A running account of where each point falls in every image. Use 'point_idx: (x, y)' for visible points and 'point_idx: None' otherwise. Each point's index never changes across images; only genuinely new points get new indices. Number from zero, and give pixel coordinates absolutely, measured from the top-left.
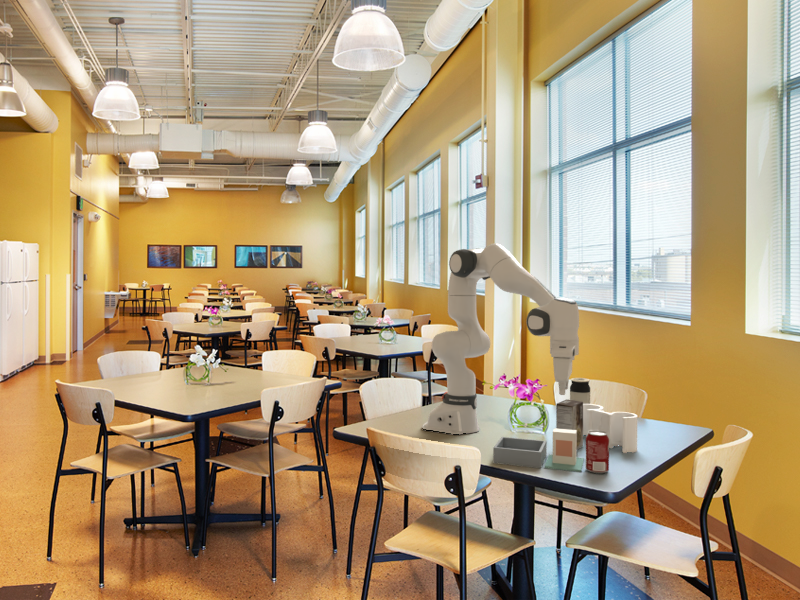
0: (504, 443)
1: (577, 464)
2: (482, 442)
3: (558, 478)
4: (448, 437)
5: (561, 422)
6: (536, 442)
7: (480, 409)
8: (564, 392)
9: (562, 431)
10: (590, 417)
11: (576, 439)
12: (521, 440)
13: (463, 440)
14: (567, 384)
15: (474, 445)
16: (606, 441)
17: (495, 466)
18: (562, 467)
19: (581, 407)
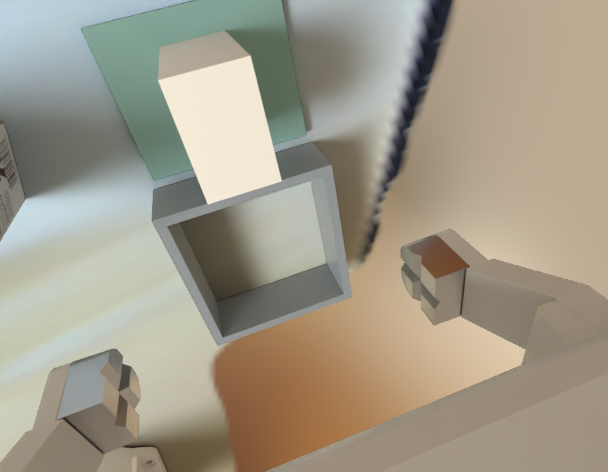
0: (219, 320)
1: (209, 24)
2: (164, 382)
3: (390, 43)
4: (187, 441)
5: None
6: (178, 245)
7: None
8: (462, 245)
9: (249, 141)
10: None
11: (169, 65)
12: (200, 290)
13: (185, 413)
14: (104, 403)
15: (209, 376)
16: None
17: (359, 248)
18: (287, 70)
19: None
